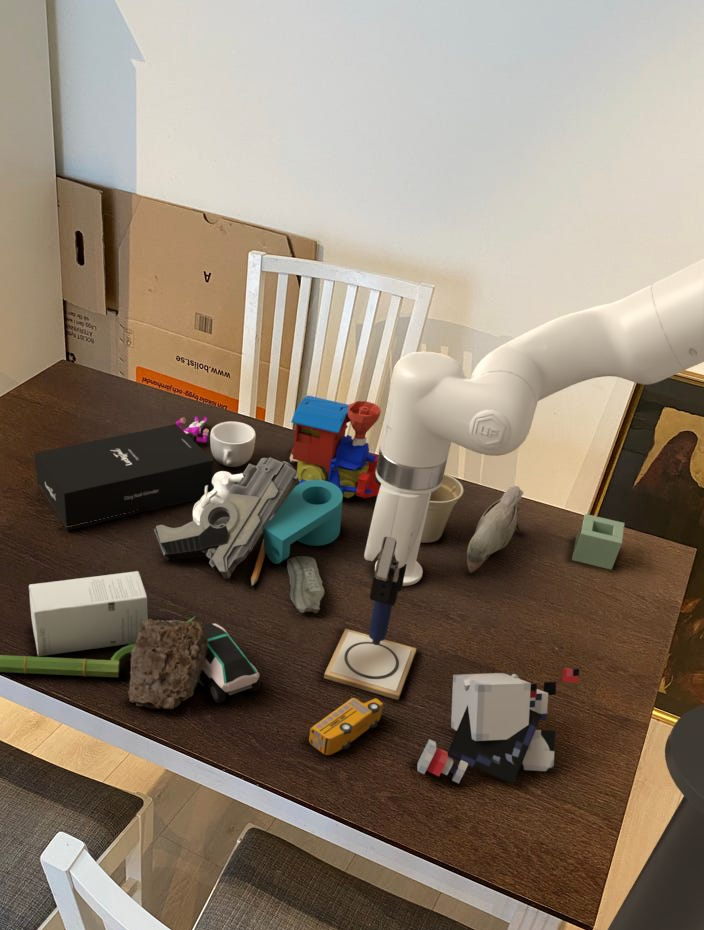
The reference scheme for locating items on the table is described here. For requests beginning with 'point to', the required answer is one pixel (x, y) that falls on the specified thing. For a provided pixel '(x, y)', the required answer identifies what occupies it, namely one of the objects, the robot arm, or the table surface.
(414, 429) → the robot arm
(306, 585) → the stone
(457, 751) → the toy
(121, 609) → the cosmetic box
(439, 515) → the flower pot
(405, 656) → the framed picture
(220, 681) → the toy car
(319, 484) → the teal mechanical bracket
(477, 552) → the decorative bird
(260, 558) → the pencil
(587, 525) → the pen stand
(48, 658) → the decorative plant
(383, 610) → the marker
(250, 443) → the teacup
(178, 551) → the toy gun
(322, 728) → the toy bus
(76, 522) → the box
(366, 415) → the toy train
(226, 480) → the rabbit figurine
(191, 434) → the character figurine
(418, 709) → the table surface
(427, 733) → the table surface
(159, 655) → the concrete sample
